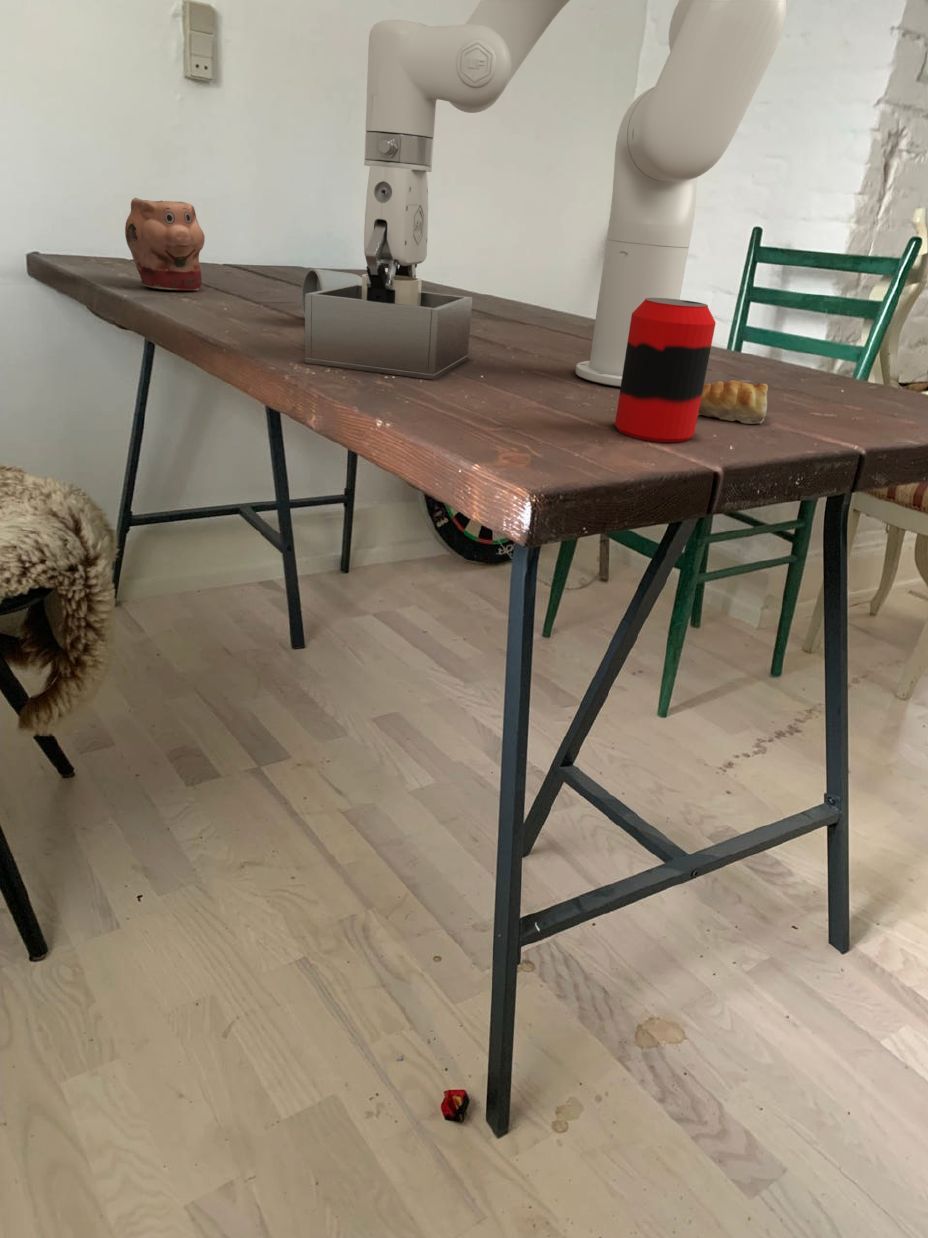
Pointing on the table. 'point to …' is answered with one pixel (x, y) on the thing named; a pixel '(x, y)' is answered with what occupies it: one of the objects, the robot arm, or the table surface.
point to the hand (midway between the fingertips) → (390, 319)
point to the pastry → (734, 401)
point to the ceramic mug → (326, 281)
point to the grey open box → (387, 332)
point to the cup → (400, 289)
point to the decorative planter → (165, 244)
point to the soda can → (664, 369)
